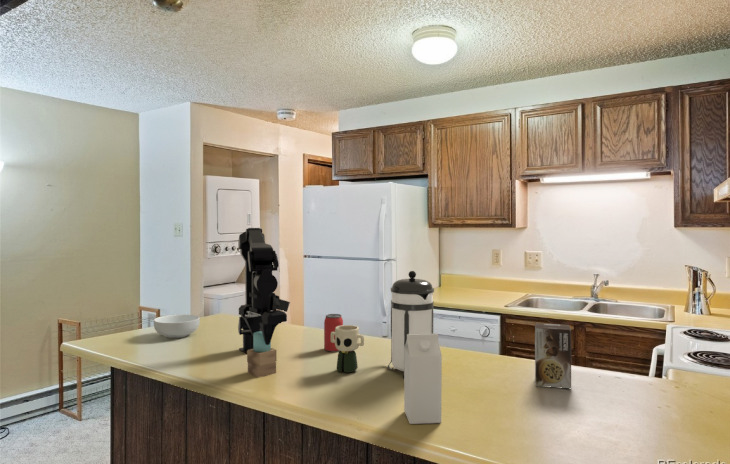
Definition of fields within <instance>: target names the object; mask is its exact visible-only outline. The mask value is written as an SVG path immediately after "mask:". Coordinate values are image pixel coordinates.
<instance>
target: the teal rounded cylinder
mask: <svg viewBox="0 0 730 464" xmlns="http://www.w3.org/2000/svg"><path fill="white" fill-rule="evenodd" d="M271 343H272V341H271V342H270V344H269V345H266V344H265V341H264V338H263V334H262V331H259V332H255V333H253V351H254V352H268V351H270V350H271V348H272V344H271Z"/></svg>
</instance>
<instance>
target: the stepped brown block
mask: <svg viewBox="0 0 730 464" xmlns="http://www.w3.org/2000/svg"><path fill="white" fill-rule="evenodd" d="M246 355H247V357H246V360H247V364H248V363H252V364H255V365H258V366H262V365H266V364H269V363H272V362H276V363H277V349H276V348H272V347H271V350H270V351H268V352H254V351H253V349H250V350H247V353H246Z"/></svg>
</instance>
